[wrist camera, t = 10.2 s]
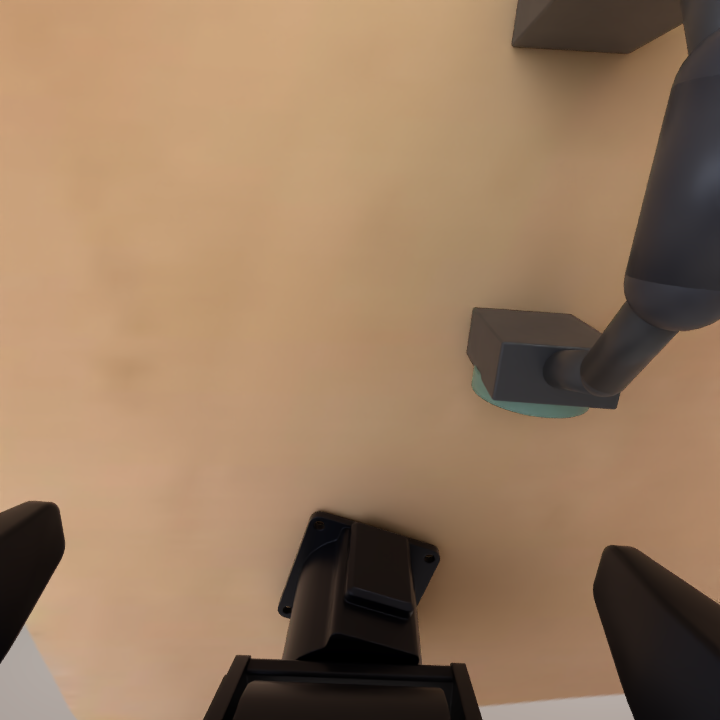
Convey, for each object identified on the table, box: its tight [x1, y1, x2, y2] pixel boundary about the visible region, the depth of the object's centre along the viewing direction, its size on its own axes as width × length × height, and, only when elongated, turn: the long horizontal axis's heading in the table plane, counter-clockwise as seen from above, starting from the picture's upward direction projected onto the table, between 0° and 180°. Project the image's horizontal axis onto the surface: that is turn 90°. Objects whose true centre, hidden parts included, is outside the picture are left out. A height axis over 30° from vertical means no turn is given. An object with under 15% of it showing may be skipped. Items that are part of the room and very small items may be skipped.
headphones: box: [467, 0, 720, 418], centre depth 13 cm, size 4×14×10 cm, turn 176°
